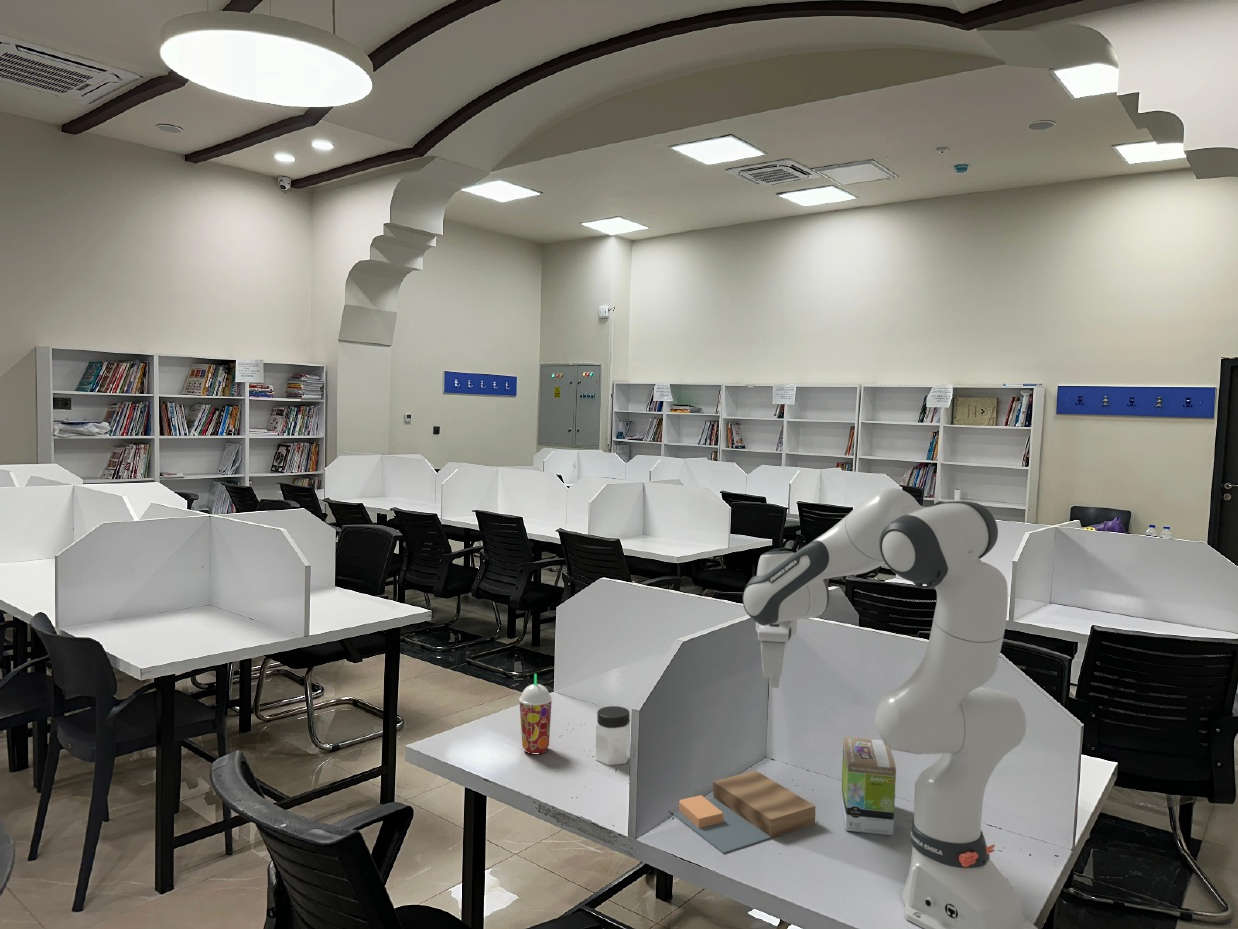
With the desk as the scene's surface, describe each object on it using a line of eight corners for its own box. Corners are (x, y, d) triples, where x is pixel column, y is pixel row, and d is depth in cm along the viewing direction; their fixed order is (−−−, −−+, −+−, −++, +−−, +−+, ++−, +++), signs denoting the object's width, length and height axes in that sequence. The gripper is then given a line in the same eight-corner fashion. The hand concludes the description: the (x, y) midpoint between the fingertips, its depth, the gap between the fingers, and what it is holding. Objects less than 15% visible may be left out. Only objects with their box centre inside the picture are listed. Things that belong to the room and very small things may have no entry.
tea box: (895, 837, 173) (897, 767, 172) (844, 832, 175) (846, 762, 174) (887, 803, 187) (888, 738, 186) (840, 799, 189) (842, 735, 188)
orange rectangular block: (698, 818, 175) (698, 828, 175) (723, 813, 178) (723, 822, 178) (677, 800, 183) (677, 809, 183) (701, 795, 186) (701, 803, 186)
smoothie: (522, 743, 220) (521, 668, 218) (553, 744, 219) (553, 669, 218) (517, 757, 211) (516, 679, 210) (549, 757, 211) (549, 679, 210)
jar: (599, 767, 206) (599, 719, 205) (592, 753, 213) (592, 707, 213) (634, 763, 208) (634, 716, 207) (626, 750, 216) (626, 704, 215)
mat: (770, 838, 172) (770, 837, 172) (723, 854, 166) (723, 852, 166) (713, 798, 189) (713, 797, 189) (668, 811, 183) (668, 810, 183)
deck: (815, 824, 178) (815, 806, 177) (770, 838, 172) (771, 819, 171) (755, 787, 195) (755, 770, 195) (713, 798, 189) (713, 781, 189)
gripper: (766, 611, 194) (765, 670, 195) (757, 634, 174) (756, 699, 175) (793, 613, 192) (792, 672, 193) (787, 637, 173) (786, 702, 174)
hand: (775, 685), depth 184 cm, fingers closed
